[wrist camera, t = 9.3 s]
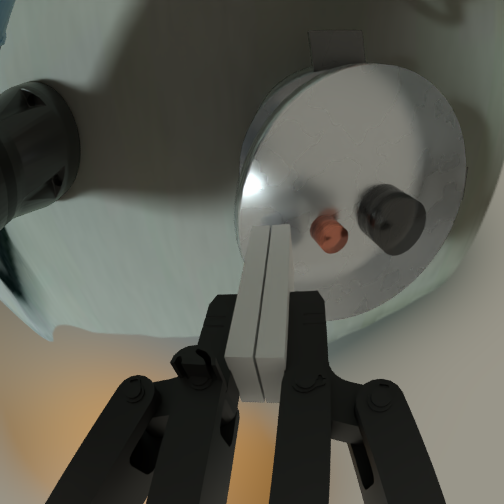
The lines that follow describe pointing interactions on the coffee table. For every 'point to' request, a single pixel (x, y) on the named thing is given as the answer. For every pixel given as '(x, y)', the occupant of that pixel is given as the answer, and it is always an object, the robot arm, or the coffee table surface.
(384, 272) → the lid
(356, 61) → the pot
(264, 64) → the coffee table surface
